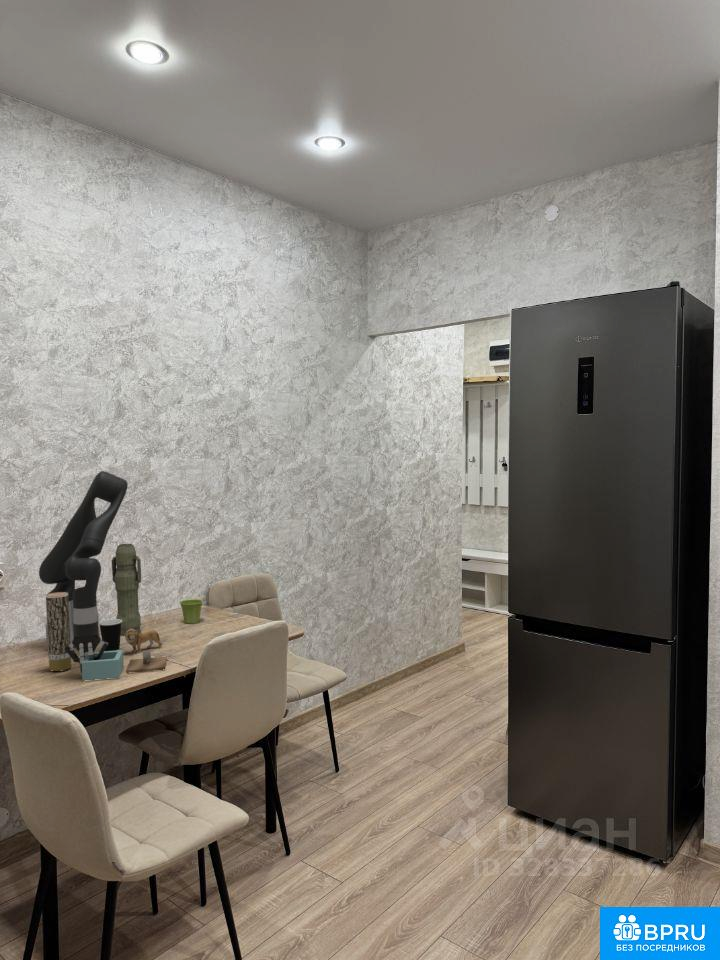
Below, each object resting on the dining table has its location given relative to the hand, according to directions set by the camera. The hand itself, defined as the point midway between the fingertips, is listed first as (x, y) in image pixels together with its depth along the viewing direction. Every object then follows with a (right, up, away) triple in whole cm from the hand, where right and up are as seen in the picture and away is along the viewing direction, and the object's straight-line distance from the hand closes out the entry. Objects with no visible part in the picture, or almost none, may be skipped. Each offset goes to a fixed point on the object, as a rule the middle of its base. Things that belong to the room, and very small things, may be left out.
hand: (88, 673), depth 225 cm
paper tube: (-12, -1, +8) cm, 14 cm away
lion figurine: (+10, +1, +27) cm, 29 cm away
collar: (+5, 0, +1) cm, 5 cm away
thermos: (-4, +2, +52) cm, 52 cm away
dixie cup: (-2, 0, +26) cm, 26 cm away
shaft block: (+16, 0, +9) cm, 18 cm away
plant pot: (+17, +3, +67) cm, 69 cm away
